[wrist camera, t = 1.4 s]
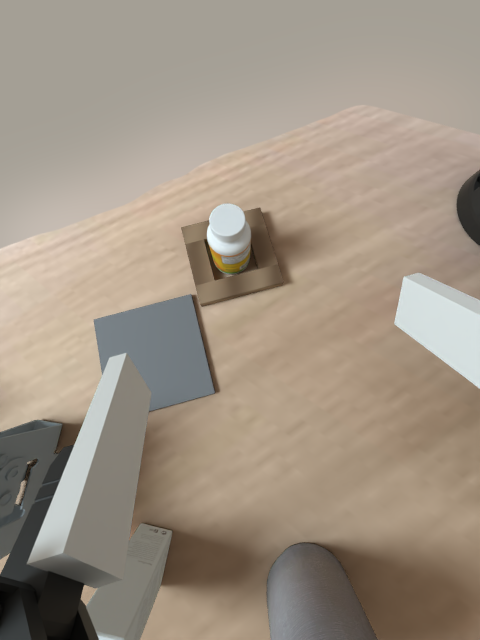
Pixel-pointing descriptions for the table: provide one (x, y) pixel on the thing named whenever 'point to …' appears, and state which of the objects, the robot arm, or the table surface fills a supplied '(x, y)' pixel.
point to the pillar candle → (313, 598)
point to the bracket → (23, 473)
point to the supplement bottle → (229, 238)
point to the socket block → (237, 284)
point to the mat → (160, 349)
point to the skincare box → (132, 587)
